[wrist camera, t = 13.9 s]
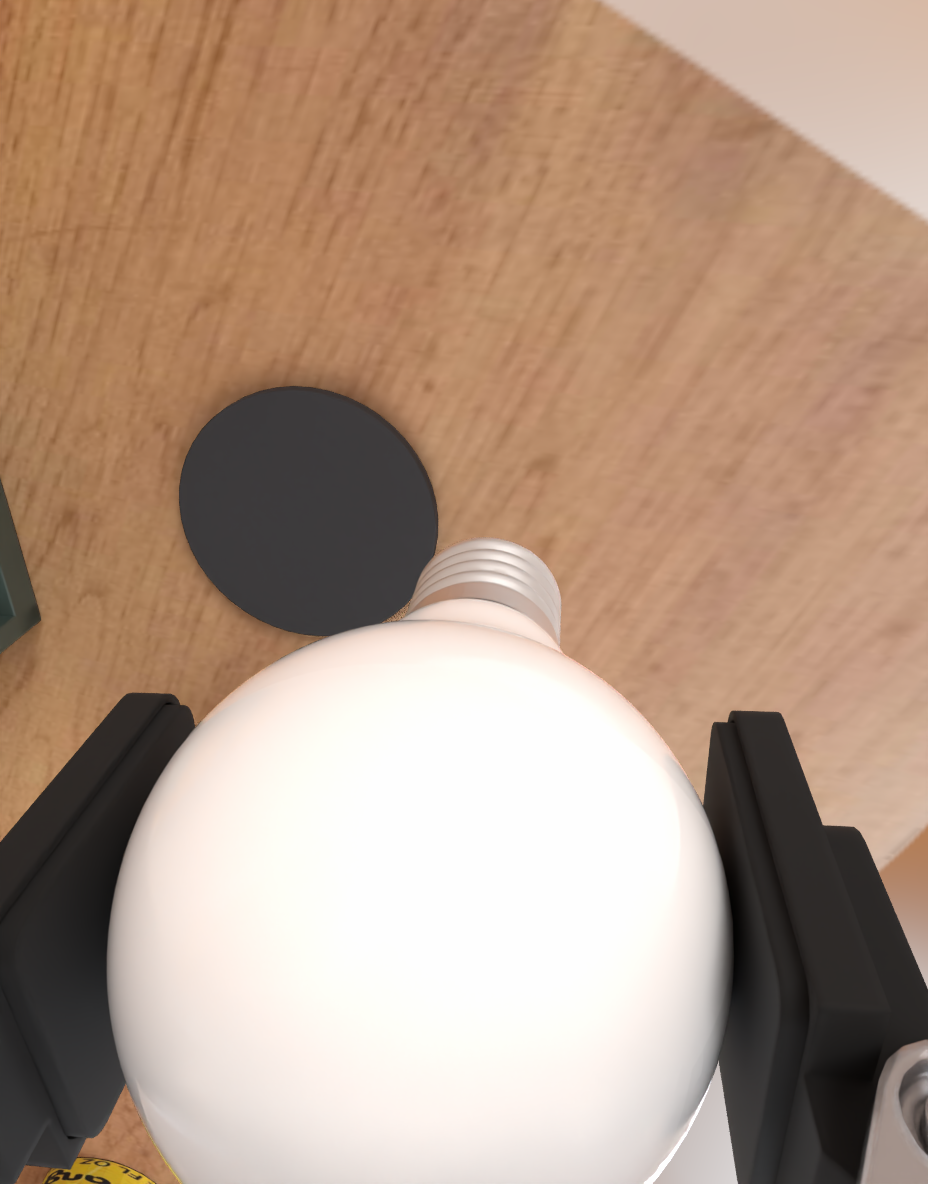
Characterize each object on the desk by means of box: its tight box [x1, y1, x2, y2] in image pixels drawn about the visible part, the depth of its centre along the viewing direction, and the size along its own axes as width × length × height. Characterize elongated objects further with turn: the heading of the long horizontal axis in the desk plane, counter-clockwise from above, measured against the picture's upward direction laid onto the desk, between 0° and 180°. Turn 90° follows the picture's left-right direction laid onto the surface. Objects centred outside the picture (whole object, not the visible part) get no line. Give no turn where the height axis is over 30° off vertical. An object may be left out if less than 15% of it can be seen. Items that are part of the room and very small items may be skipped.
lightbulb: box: [106, 537, 735, 1184], centre depth 11 cm, size 6×6×11 cm
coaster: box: [179, 386, 438, 636], centre depth 32 cm, size 10×10×1 cm
